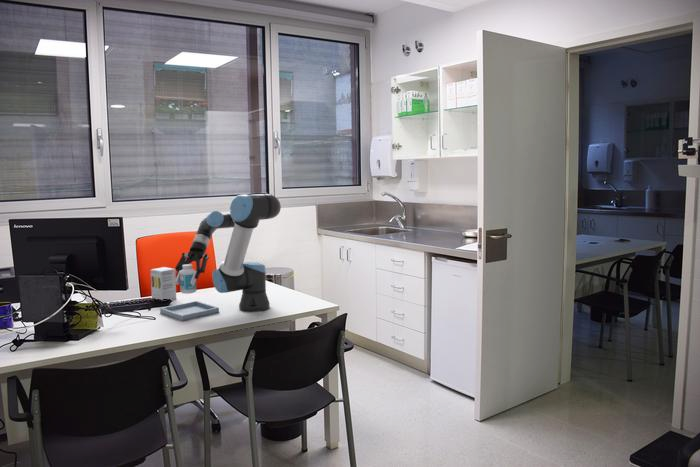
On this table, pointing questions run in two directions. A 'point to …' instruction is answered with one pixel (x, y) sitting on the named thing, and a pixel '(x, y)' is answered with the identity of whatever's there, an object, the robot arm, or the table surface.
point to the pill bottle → (187, 279)
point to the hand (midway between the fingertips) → (184, 283)
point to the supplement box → (163, 283)
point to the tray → (189, 310)
